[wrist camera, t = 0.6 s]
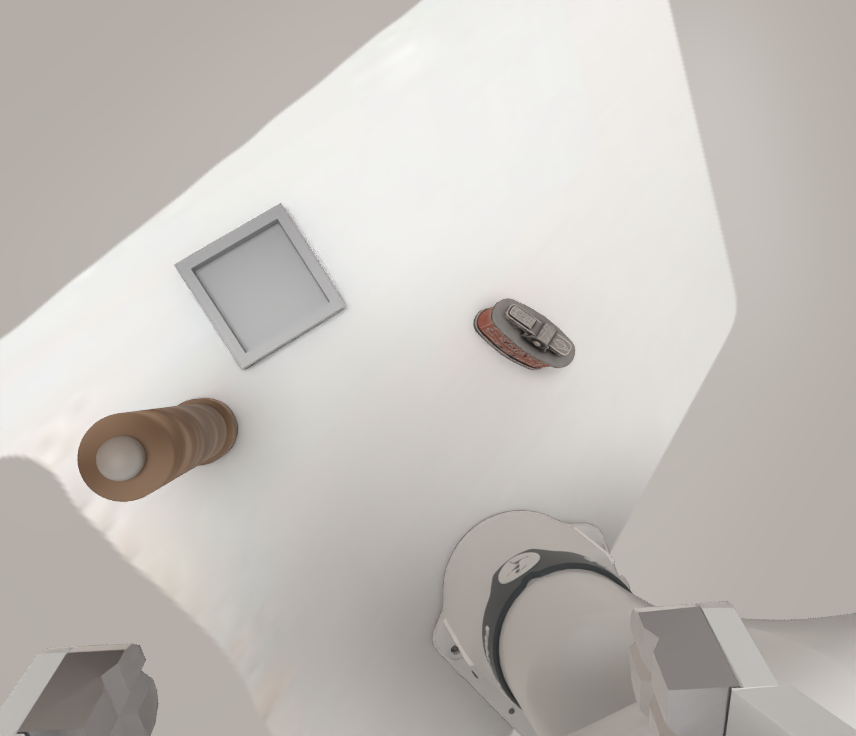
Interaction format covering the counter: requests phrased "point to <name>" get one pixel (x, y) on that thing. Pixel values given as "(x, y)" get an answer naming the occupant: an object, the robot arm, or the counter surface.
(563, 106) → the counter surface
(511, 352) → the lighter
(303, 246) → the tray
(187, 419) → the pepper mill
